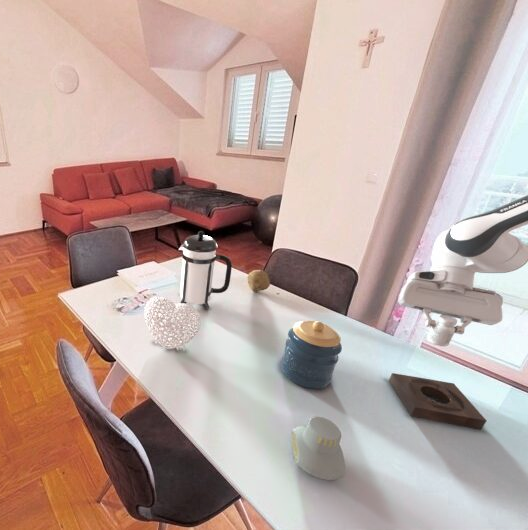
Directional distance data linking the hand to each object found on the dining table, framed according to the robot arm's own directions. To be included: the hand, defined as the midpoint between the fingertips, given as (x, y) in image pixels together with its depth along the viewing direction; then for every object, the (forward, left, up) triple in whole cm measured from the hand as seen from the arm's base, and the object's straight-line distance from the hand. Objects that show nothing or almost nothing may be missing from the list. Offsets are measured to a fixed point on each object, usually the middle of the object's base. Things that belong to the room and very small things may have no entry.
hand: (443, 329), depth 84 cm
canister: (+33, +9, -16) cm, 37 cm away
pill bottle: (0, -1, -5) cm, 5 cm away
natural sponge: (+42, -39, -16) cm, 59 cm away
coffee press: (+66, -24, -16) cm, 72 cm away
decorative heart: (+72, +8, -16) cm, 74 cm away
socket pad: (+4, +12, -15) cm, 20 cm away
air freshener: (+37, +37, -16) cm, 54 cm away
